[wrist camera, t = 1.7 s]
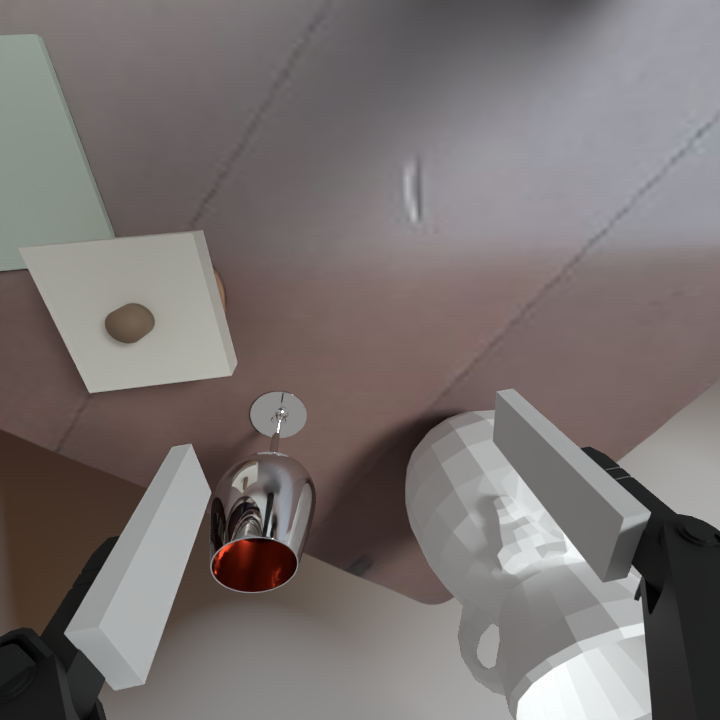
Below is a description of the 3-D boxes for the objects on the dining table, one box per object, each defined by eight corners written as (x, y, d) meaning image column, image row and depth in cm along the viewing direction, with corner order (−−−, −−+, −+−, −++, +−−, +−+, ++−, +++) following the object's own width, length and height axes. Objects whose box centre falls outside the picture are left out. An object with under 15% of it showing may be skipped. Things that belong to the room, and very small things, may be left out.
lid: (44, 243, 24) (-7, 251, 20) (202, 230, 25) (183, 234, 21) (106, 378, 29) (74, 405, 25) (237, 363, 29) (226, 386, 26)
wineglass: (306, 377, 37) (301, 511, 21) (321, 435, 41) (326, 588, 24) (233, 391, 37) (169, 539, 20) (254, 449, 40) (214, 613, 24)
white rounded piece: (506, 354, 39) (767, 558, 17) (540, 457, 47) (749, 690, 25) (365, 424, 41) (429, 696, 18) (421, 513, 49) (514, 778, 26)
